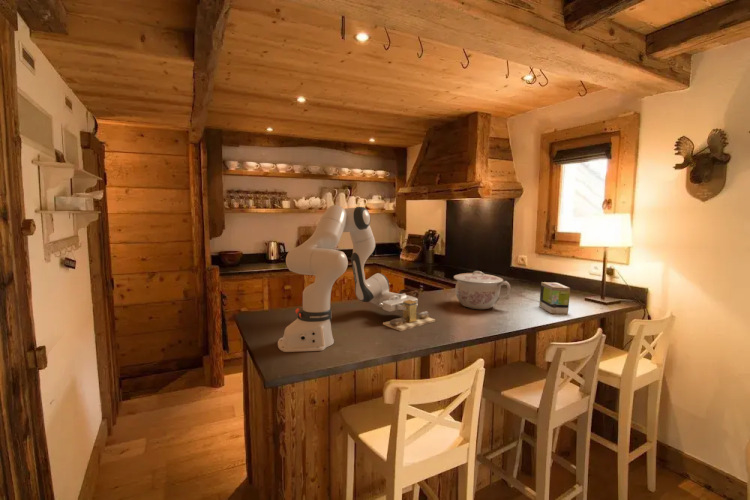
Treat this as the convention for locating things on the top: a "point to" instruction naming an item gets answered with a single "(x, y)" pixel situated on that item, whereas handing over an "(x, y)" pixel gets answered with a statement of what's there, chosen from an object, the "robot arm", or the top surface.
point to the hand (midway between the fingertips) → (411, 307)
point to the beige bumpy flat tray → (403, 325)
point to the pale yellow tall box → (410, 311)
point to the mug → (410, 292)
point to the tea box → (554, 297)
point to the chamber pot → (479, 289)
